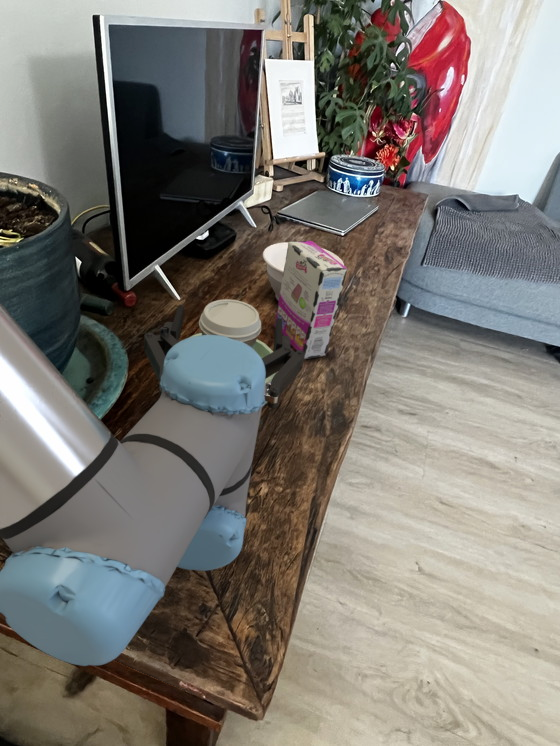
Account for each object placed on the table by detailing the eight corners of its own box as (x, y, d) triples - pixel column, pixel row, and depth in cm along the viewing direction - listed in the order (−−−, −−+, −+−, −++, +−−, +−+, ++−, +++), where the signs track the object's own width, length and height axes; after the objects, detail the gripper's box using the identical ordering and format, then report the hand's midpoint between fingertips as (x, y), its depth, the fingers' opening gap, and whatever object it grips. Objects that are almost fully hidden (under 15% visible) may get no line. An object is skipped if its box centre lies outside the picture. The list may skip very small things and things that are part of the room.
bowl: (281, 323, 91) (288, 281, 86) (244, 283, 102) (249, 244, 97) (350, 312, 98) (360, 273, 93) (309, 276, 109) (317, 239, 104)
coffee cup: (234, 360, 79) (241, 293, 72) (264, 391, 73) (275, 322, 66) (185, 373, 74) (188, 303, 67) (213, 407, 69) (220, 335, 62)
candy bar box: (327, 356, 85) (349, 268, 75) (302, 361, 82) (322, 270, 73) (296, 322, 92) (312, 238, 82) (272, 326, 90) (286, 240, 80)
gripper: (96, 436, 53) (139, 332, 70) (323, 459, 55) (312, 353, 72) (91, 382, 49) (138, 284, 66) (338, 409, 51) (322, 308, 68)
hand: (229, 320), depth 69 cm, fingers open, 13 cm apart
